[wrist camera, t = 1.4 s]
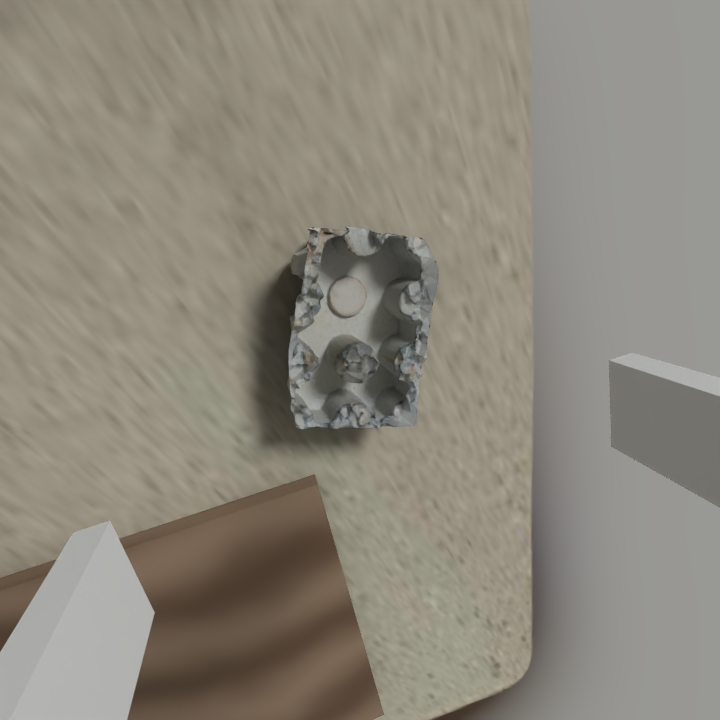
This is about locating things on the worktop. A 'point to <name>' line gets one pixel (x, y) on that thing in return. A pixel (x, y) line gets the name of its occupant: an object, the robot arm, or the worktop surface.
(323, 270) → the egg carton
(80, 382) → the worktop surface
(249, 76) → the worktop surface
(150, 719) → the walnut board
